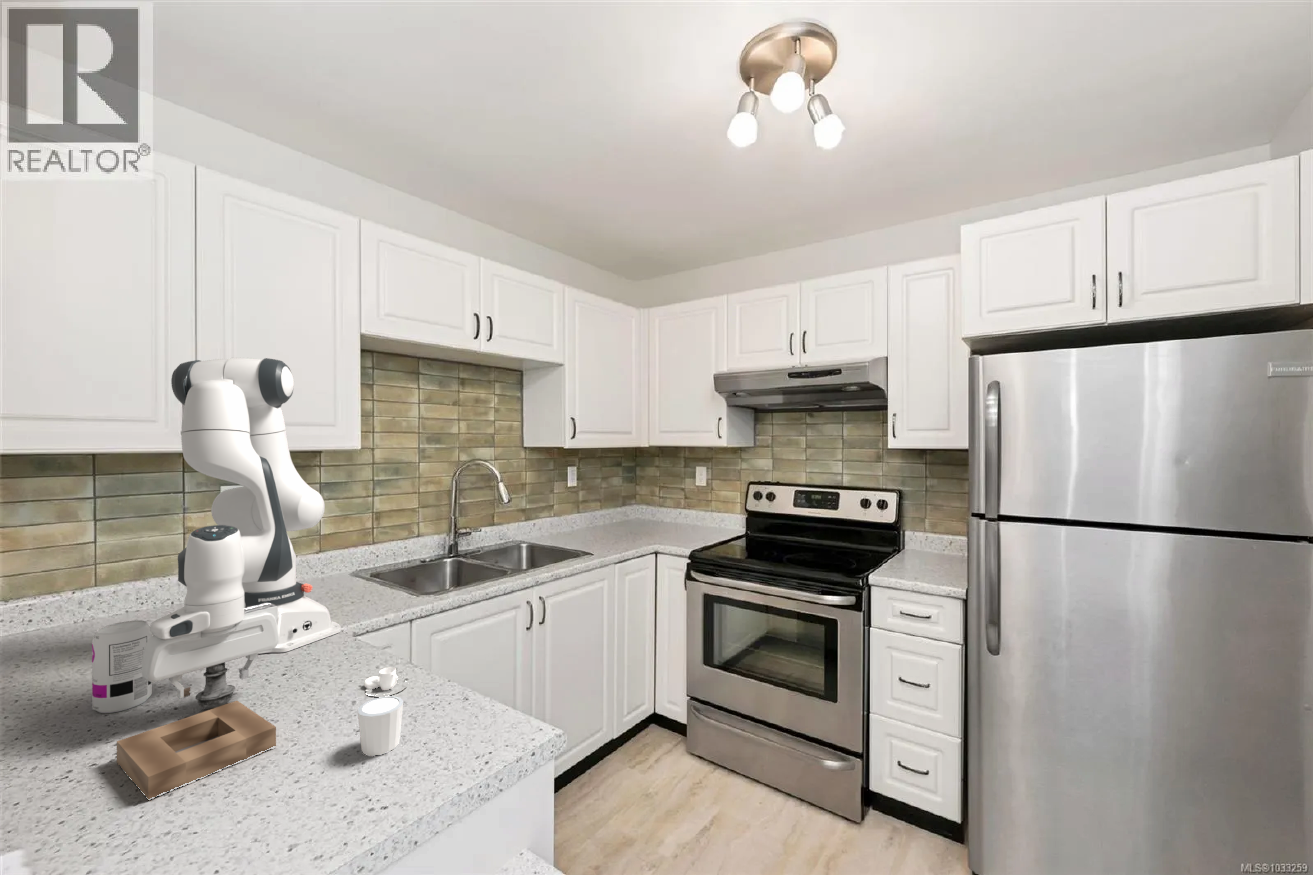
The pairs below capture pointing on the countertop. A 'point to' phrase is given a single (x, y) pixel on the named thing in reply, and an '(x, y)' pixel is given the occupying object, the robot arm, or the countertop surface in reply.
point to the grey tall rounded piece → (215, 688)
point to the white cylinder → (380, 724)
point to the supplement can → (119, 666)
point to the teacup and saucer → (382, 680)
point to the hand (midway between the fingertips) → (215, 687)
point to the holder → (193, 747)
